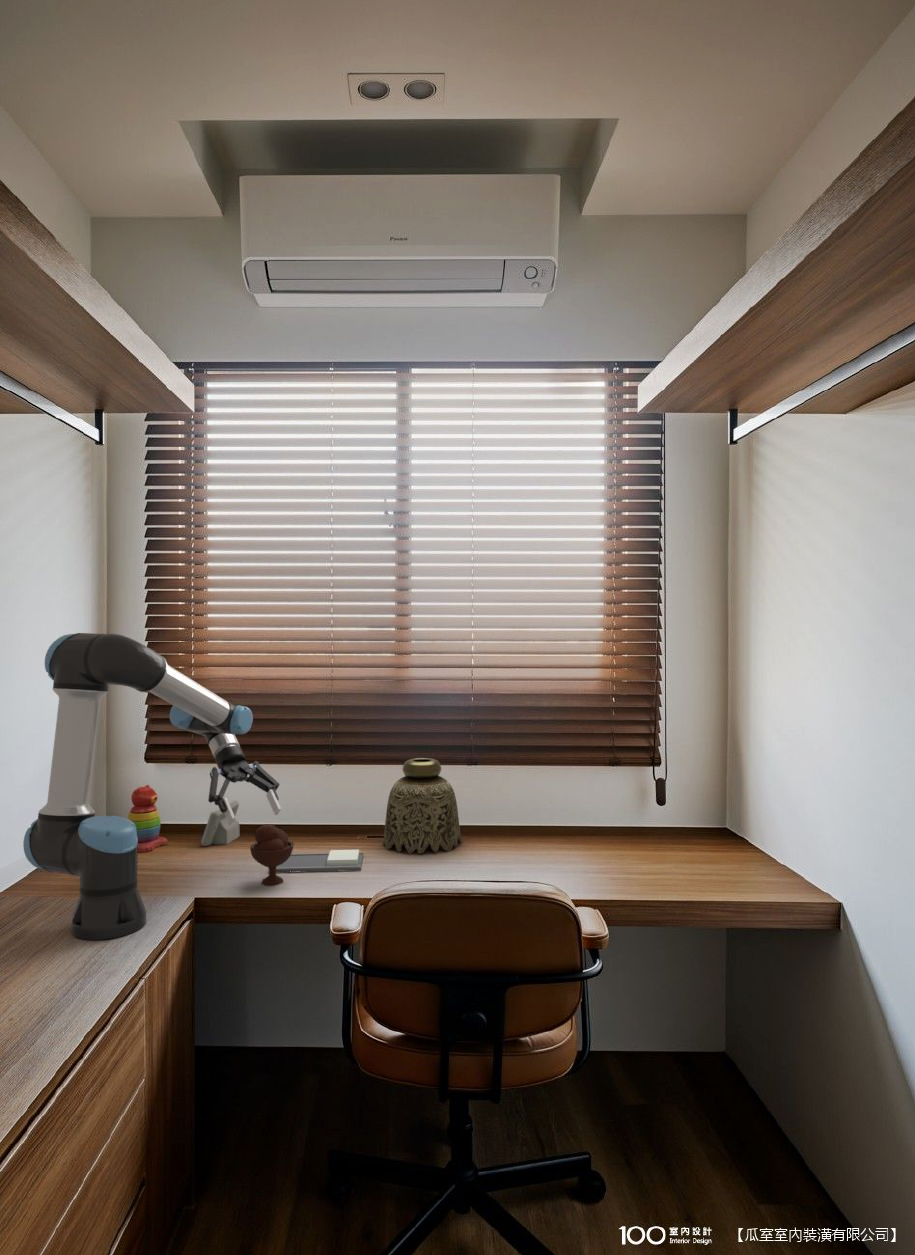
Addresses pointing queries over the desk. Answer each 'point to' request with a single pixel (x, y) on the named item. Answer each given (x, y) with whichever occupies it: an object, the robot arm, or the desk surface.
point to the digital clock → (221, 827)
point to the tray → (313, 863)
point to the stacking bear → (146, 819)
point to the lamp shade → (422, 809)
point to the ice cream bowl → (271, 851)
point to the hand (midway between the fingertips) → (255, 816)
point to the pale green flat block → (343, 858)
